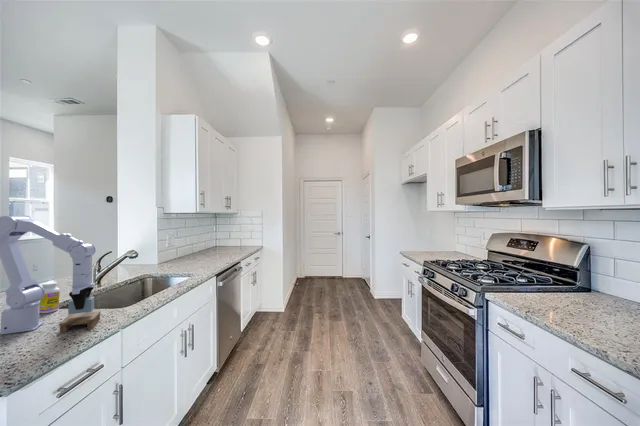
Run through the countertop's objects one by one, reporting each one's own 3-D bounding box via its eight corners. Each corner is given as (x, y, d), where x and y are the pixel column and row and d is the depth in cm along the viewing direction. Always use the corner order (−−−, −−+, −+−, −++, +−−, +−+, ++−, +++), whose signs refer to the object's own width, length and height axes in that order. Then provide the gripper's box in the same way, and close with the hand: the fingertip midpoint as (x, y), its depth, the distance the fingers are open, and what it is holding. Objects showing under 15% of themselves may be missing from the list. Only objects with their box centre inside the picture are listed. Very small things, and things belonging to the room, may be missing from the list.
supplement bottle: (45, 314, 117) (46, 285, 117) (34, 313, 118) (35, 284, 118) (63, 309, 123) (63, 281, 123) (52, 308, 125) (52, 280, 125)
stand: (59, 332, 100) (59, 323, 100) (69, 322, 109) (69, 314, 109) (93, 328, 105) (93, 319, 105) (100, 318, 113) (100, 310, 114)
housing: (68, 314, 103) (68, 299, 103) (72, 310, 107) (72, 296, 107) (91, 311, 107) (91, 297, 107) (94, 308, 110) (94, 294, 110)
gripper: (89, 276, 102) (88, 311, 102) (100, 269, 115) (99, 300, 115) (65, 278, 99) (64, 314, 99) (78, 270, 112) (78, 302, 112)
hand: (81, 307), depth 107 cm, fingers closed on housing, 4 cm apart
